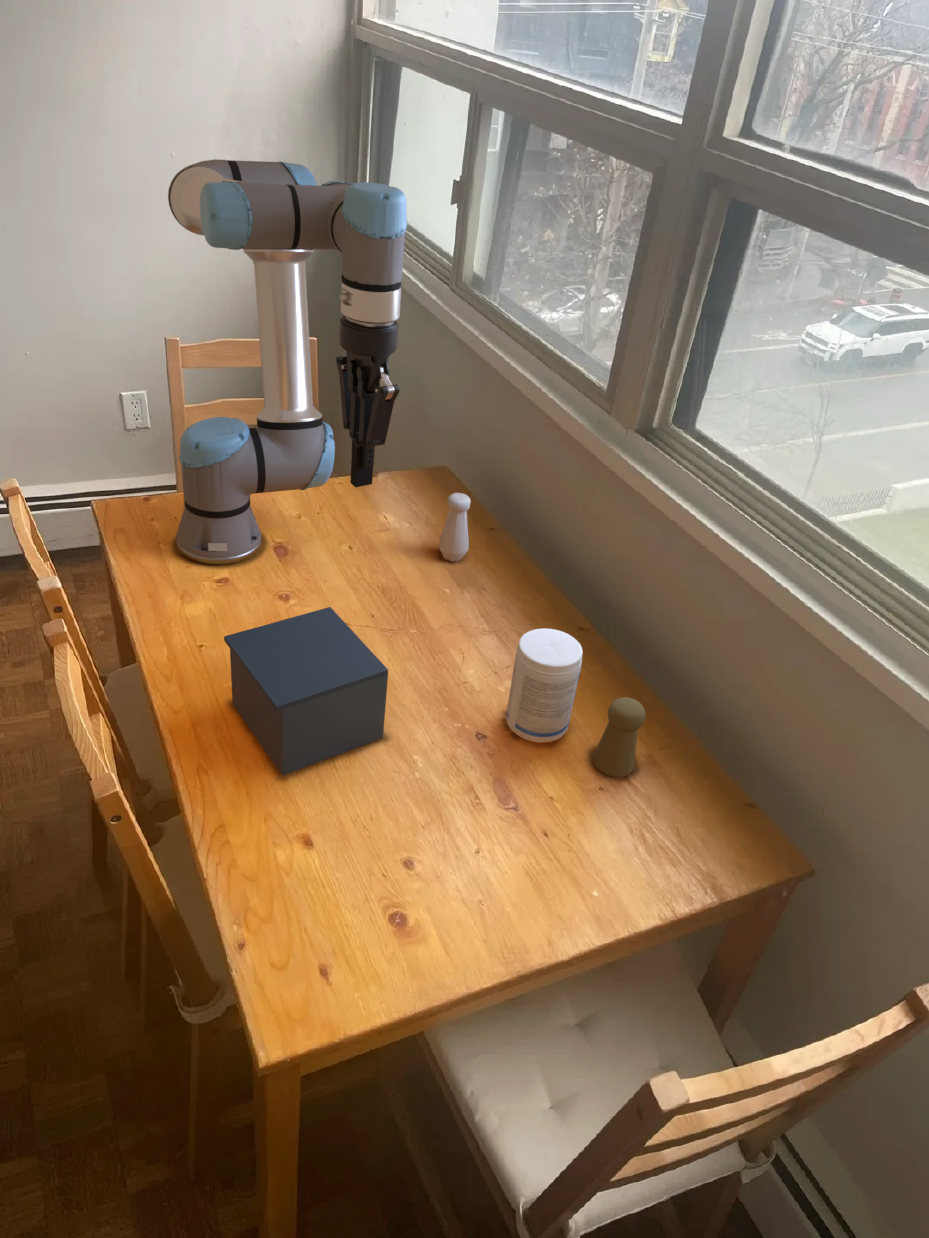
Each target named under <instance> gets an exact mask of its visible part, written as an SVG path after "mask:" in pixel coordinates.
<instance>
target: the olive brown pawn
mask: <svg viewBox="0 0 929 1238" xmlns="http://www.w3.org/2000/svg"><path fill="white" fill-rule="evenodd" d="M607 719H608V722H607V724H606V727H605V729H604V731H603V733H602V735H601V738H600V740H599V742H598V745H597V746H596V748H595V751H594V753H593V755H592V762H593V765H594V766H595V768H596V769H597V770H598V771H600V772H601V773H603V774H604V775H607V776H609V777H614V778H615V777H616V778H621V777H626V776H628V775H629V774H631V773H632V772H633V770H634V767H635V757H636V749H637V742H638V735H639V733H638V732H639V729H640V728H642V727H643V725H644V723H645V720H646V710H645V708H644V706H643V705H642V704H641V702H640V701H638V700H637V699H635V698H631V697H625V696H624V697H623V696H622V697H618V698H616V699H615V700H613V701H612V702H611V703H610V705H609V706H608V710H607Z"/></svg>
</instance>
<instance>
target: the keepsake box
mask: <svg viewBox="0 0 929 1238" xmlns="http://www.w3.org/2000/svg"><path fill="white" fill-rule="evenodd" d="M229 658H230V679H231V681H230V682H231V698H232V699H231V701H232V705H233V707H234V708H235V710H236V711H237V713H238V714H239V715H240V717H241V718H242V719H243V721H244V722H245V724H246V725H247V727H248V728H249V730H250V731H251V732H252V734H253V735H254V737H255V738H256V740H257V742H258V743H259V744H260V745H261V747H262V748H263V750H264V751H265V753H266V754H267V755H268V757H269V758H270V760H271V761H272V763H273V764H274V766H275V767H276V768H277V770H278V772H279V773H280V775H282V776H283V777H284V776H286V775H289V774H292V773H294V772H297V771H300V770H302V769H305V768H309V767H310V766H313V765H315V764H318V763H320V762H324V761H326V760H329V759H331V758H334V757H337V756H340V755H342V754H344V753H347V752H351V751H353V750H356V749H358V748H361V747H364V746H366V745H369V744H372V743H374V742H377V741H379V740H383V738H384V731H385V729H384V728H385V718H386V717H385V716H386V705H387V692H388V682H389V681H388V680H389V678H388V677H389V673H388V674H386V675H383V676H380V677H377V678H374V679H371V680H368V681H365V682H363V683H360V684H357V685H354V686H351V687H348V688H345V689H342V690H339V691H336V692H333V693H330V694H327V695H324V696H321V697H318V698H315V699H312V700H309V701H306V702H303V703H300V704H297V705H294V706H291V707H288V708H285V709H282V710H279V711H276V710H275V708H274V707H273V706H272V704H271V703H270V702H269V700H268V699H267V698H266V696H265V695H264V694H263V692H262V691H261V690H260V688H259V687H258V686H257V684H256V683H255V682H254V680H253V679H252V677H251V676H250V675H249V673H248V672H247V671H246V669H245V668H244V667H243V665H242V664H241V663H240V661H239V660H238V659H237V657H236V656H235V655H234V653H233V652H232V651H231V649H230V648H229Z"/></svg>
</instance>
